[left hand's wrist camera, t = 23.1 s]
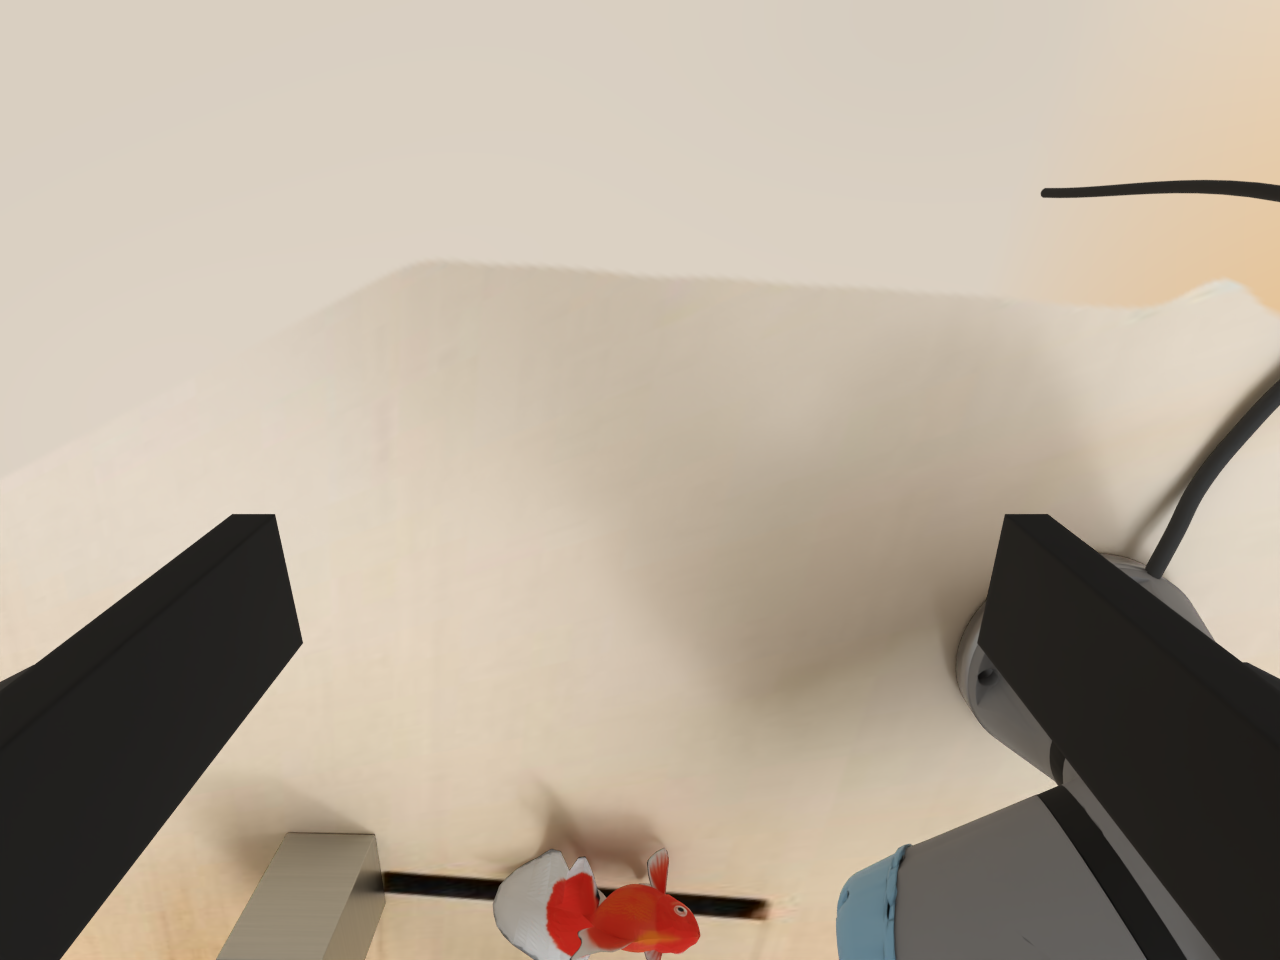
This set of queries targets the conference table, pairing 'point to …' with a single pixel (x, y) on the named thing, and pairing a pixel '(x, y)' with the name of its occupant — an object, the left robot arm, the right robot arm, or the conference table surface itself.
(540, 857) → the fish
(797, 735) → the conference table surface
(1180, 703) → the left robot arm
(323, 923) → the block
